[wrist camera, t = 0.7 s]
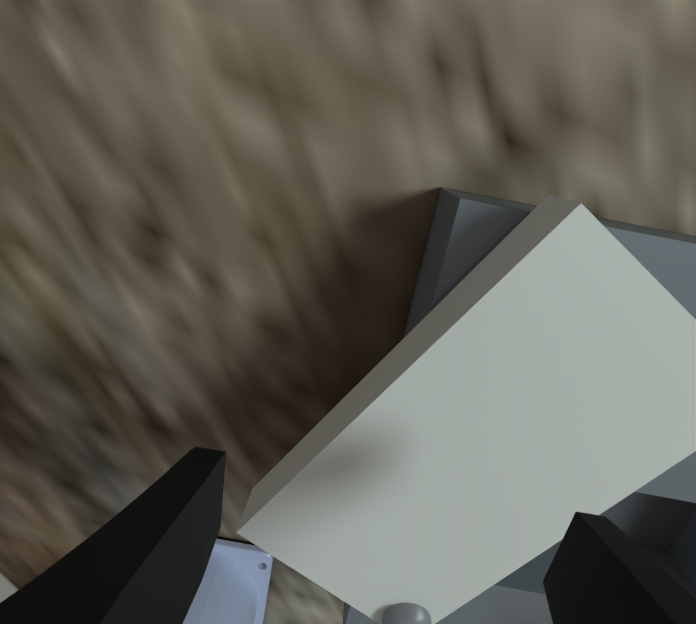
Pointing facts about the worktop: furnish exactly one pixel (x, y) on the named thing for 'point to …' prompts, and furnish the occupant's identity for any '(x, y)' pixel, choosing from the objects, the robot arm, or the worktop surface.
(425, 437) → the cover
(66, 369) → the worktop surface
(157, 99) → the worktop surface
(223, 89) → the worktop surface
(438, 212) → the gray storage bin
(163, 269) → the worktop surface
